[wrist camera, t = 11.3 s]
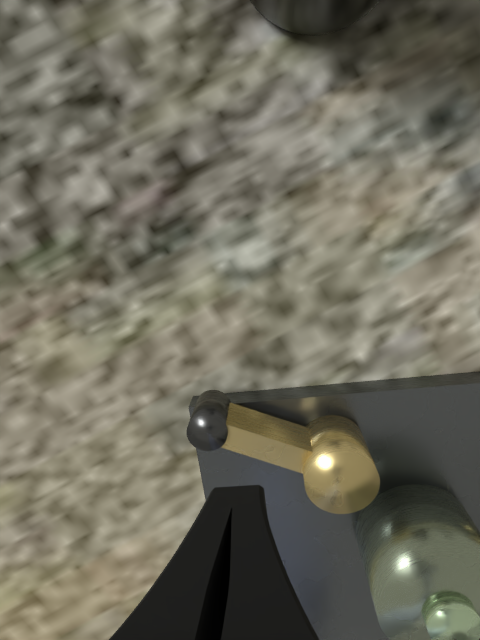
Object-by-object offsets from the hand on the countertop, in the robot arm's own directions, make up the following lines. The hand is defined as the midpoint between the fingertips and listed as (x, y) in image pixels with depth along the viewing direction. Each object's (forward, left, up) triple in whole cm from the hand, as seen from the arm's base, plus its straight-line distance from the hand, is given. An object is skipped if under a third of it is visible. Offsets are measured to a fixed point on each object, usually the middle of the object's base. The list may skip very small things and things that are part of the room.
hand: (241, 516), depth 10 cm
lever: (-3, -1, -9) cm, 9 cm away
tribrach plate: (-10, -8, -10) cm, 16 cm away
